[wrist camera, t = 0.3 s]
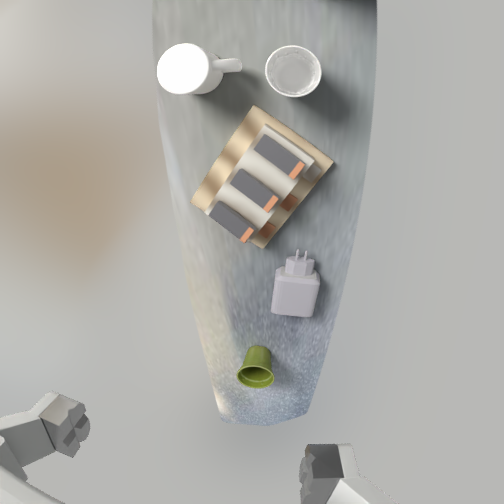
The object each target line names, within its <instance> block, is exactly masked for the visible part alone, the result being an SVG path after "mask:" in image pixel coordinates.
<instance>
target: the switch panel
mask: <svg viewBox="0 0 504 504" xmlns="http://www.w3.org/2000/svg"><path fill="white" fill-rule="evenodd" d="M264 134H266V135H268V136H269V137H271V138H272V139H273V140H275V141H276V142H278V143H279V144H280V145H282V146H283V147H284V148H286V149H287V150H288V151H290V152H291V153H292V154H294V155H295V156H296V157H298V158H299V159H300V160H302V161H303V162H304V163H306V165H305V167H304V168H303V169H302V171H301V172H300V173H299V174H298V176H297V177H296V178H295V180H293V179H292V178H291V177H289V176H288V175H287V174H286V173H284V172H283V171H282V170H280V169H279V168H278V167H276V166H275V165H274V164H272V163H271V162H270V161H268V160H267V159H266V158H264V157H263V156H261V155H260V154H259V153H257V152H256V151H255V150H253V149H254V148H255V146H256V145H257V143H258V142H259V141H260V139H261V138H262V136H263V135H264ZM332 163H333V160H332V159H330V158H329V157H328V156H326V155H325V154H324V153H323V152H321V151H320V150H319V149H317V148H316V147H315V146H313V145H312V144H311V143H309V142H308V141H306V140H305V139H304V138H302V137H301V136H300V135H298V134H297V133H295V132H294V131H293V130H291V129H290V128H288V127H287V126H285V125H284V124H283V123H281V122H280V121H278V120H277V119H275V118H274V117H272V116H271V115H269V114H268V113H266V112H265V111H263V110H262V109H260V108H259V107H257V106H256V105H253V107H252V108H251V110H250V111H249V112H248V114H247V115H246V117H245V118H244V120H243V121H242V122H241V124H240V125H239V127H238V128H237V130H236V131H235V133H234V134H233V136H232V137H231V139H230V140H229V142H228V143H227V145H226V146H225V148H224V149H223V151H222V152H221V154H220V155H219V157H218V158H217V160H216V161H215V163H214V164H213V166H212V168H211V169H210V171H209V172H208V174H207V175H206V177H205V179H204V180H203V182H202V183H201V185H200V187H199V188H198V190H197V191H196V193H195V195H194V196H193V198H192V200H191V201H190V203H192V204H194V205H195V206H197V207H198V208H200V209H201V210H203V211H204V212H205V214H207V215H208V216H209V213H210V212H211V210H212V209H213V207H214V206H215V204H216V203H217V202H218V201H219V200H220V201H222V202H223V203H224V204H226V205H227V206H228V207H230V208H231V209H232V210H234V211H235V212H236V213H238V214H239V215H240V216H242V217H243V218H244V219H245V220H247V221H248V222H249V223H251V224H252V225H253V226H255V227H256V230H255V231H254V232H253V233H252V235H251V236H250V237H249V239H248V240H247V241H248V242H252V243H254V244H255V245H257V246H259V247H260V248H262V249H263V248H264V247H265V246H266V245H267V243H268V242H269V241H270V240H271V238H272V237H273V236H274V235H275V234H276V232H277V231H278V230H279V229H280V227H281V226H282V225H283V224H284V223H285V221H286V220H287V219H288V218H289V216H290V215H291V214H292V213H293V211H294V210H295V209H296V208H297V207H298V205H299V204H300V203H301V202H302V200H303V199H304V198H305V197H306V196H307V194H308V193H309V192H310V191H311V189H312V188H313V187H314V186H315V184H316V183H317V182H318V181H319V180H320V178H321V177H322V176H323V175H324V173H325V172H326V171H327V170H328V168H329V167H330V166H331V165H332ZM241 168H242V169H244V170H245V171H247V172H248V173H249V174H251V175H252V176H253V177H255V178H256V179H257V180H259V181H260V182H261V183H263V184H264V185H265V186H267V187H268V188H269V189H271V190H272V191H273V192H274V193H276V194H277V195H278V196H280V199H279V200H278V201H277V203H276V204H275V205H274V206H273V208H272V209H271V210H270V212H269V213H267V212H266V211H265V210H263V209H262V208H261V207H260V206H259V205H257V204H256V203H255V202H253V201H252V200H251V199H249V198H248V197H247V196H245V195H244V194H243V193H241V192H240V191H239V190H237V189H236V188H235V187H233V186H232V185H231V184H230V182H231V181H232V179H233V178H234V176H235V175H236V173H237V172H238V170H239V169H241Z"/></svg>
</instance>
